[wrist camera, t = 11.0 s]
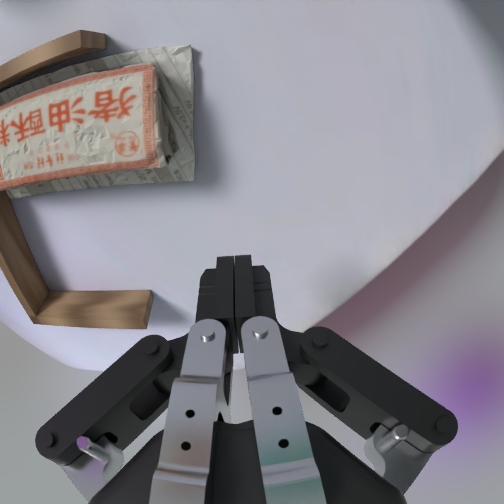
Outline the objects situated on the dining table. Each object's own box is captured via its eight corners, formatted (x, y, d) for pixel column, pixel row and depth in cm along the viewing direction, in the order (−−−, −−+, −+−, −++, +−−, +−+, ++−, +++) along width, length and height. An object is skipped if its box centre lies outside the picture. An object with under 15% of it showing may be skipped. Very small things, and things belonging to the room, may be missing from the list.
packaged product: (-12, 219, 16) (-38, 107, 10) (16, 193, 20) (-2, 94, 14) (190, 202, 18) (185, 37, 12) (197, 174, 21) (194, 44, 16)
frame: (105, 34, 14) (80, 29, 10) (153, 298, 28) (146, 329, 25) (-22, 89, 13) (-50, 99, 10) (46, 298, 27) (33, 323, 24)
